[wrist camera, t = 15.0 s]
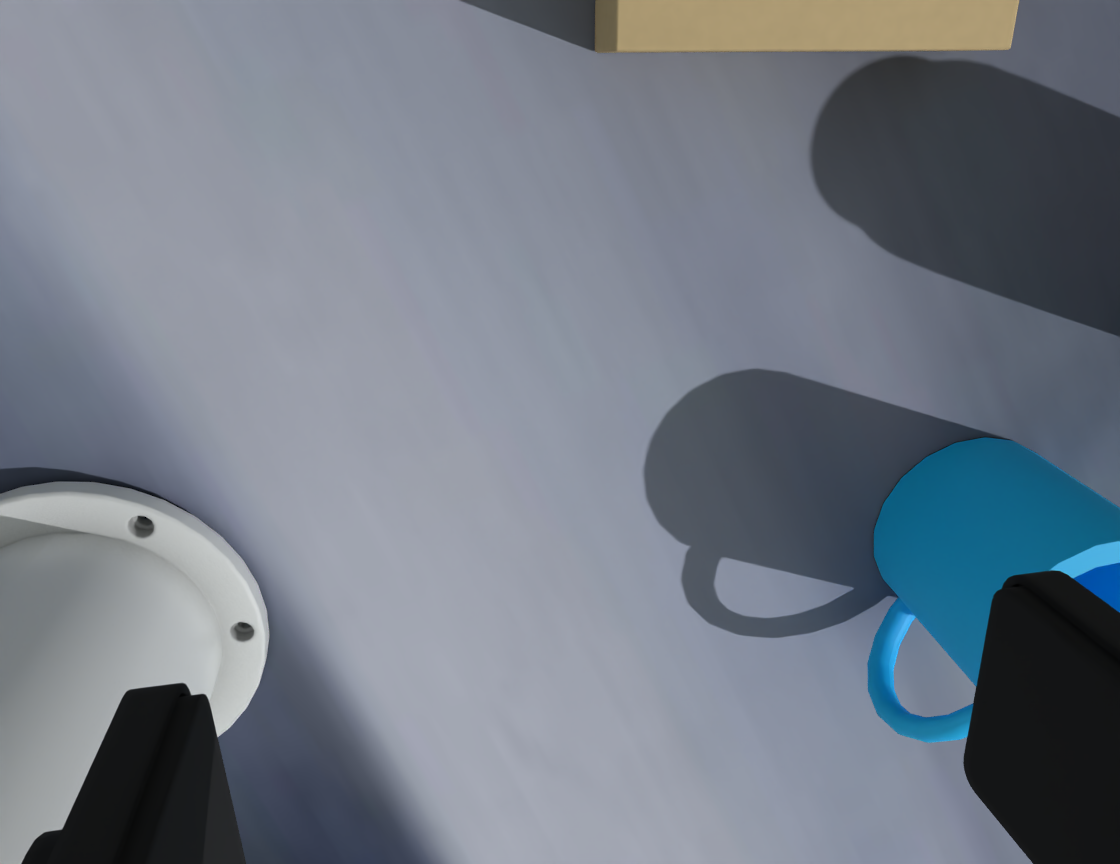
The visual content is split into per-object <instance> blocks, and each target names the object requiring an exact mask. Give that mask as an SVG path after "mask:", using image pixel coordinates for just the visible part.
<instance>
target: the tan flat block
mask: <svg viewBox="0 0 1120 864" xmlns="http://www.w3.org/2000/svg"><path fill="white" fill-rule="evenodd" d="M1018 4H1019V0H595V52H597V53H617V52H823V51H971V50H1008V49H1010V47H1011V42H1012V37H1013V31H1014V26H1015V20H1016V15H1017V10H1018Z"/></svg>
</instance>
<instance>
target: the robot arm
mask: <svg viewBox="0 0 1120 864" xmlns="http://www.w3.org/2000/svg"><path fill="white" fill-rule="evenodd" d="M143 516H145V517H147V518H148V519H150V520H148V519H145V518H144V517H143ZM268 642H269V627H268V617H267V609H266V606H265V603H264V601H263V598H262V595H261V592H260V589H259V586H258V584H257V582H256V580H255V579H254V577H253V575H252V574H251V572H250V571H249V569H248V567H247V566H246V564H245V562H244V561H243V559H242V558H241V557H240V556H239V555H238V554H237V553H236V552H235V550H234V549H233V548H232V547H231V546H230V545H229V544H228V543H227V542H226V541H225V540H224V538H223V537H222V536H220V535H219V534H218V533H217V532H215V531H214V530H213V529H211V528H210V527H209V526H207V525H206V524H205V523H203V522H202V521H201V520H199V519H198V518H197V517H196V516H194V515H192V514H190V513H188V512H186V511H184V510H182V509H180V508H179V507H177V506H175V505H173V504H171V503H169V502H167V501H165V500H163V499H160V498H157V497H154V496H151V495H148V494H145V493H142V492H139V491H136V490H133V489H131V488H125V487H119V486H114V485H108V484H102V483H97V482H62V481H57V482H50V483H43V484H36V485H30V486H23V487H19V488H16V489H13V490H10V491H7V492H4V493H1V494H0V864H246V861H245V857H244V852H243V848H242V843H241V839H240V834H239V830H238V826H237V821H236V817H235V812H234V808H233V804H232V799H231V795H230V790H229V786H228V782H227V777H226V773H225V768H224V764H223V759H222V755H221V751H220V746H219V742H218V736H220V735H221V734H222V733H223V732H225V731H226V730H227V729H229V728H230V727H231V726H232V724H233V723H234V722H235V721H236V720H237V718H238V717H239V716H240V715H241V714H242V713H243V711H244V710H245V709H246V708H247V706H248V704H249V702H250V701H251V699H252V697H253V695H254V693H255V691H256V689H257V687H258V685H259V682H260V679H261V676H262V672H263V669H264V666H265V662H266V657H267V650H268ZM964 770H965V774H966V777H967V780H968V782H969V784H970V786H971V787H972V789H973V790H974V792H975V793H976V794H977V795H978V797H979V798H980V799H981V800H982V802H983V803H984V804H985V805H986V806H987V808H988V809H989V810H990V811H991V813H992V814H993V815H994V816H995V818H996V819H997V820H998V821H999V822H1000V824H1001V825H1002V826H1003V827H1004V829H1005V830H1006V831H1007V832H1008V833H1009V835H1010V836H1011V837H1012V838H1013V840H1014V841H1015V842H1016V843H1017V844H1018V846H1019V847H1020V848H1021V849H1022V851H1023V852H1024V853H1025V854H1026V855H1027V857H1028V858H1029V859H1030V860H1031V862H1032V863H1033V864H1120V612H1118V611H1117V610H1116V609H1114V608H1113V607H1111V606H1110V605H1109V604H1107V603H1106V602H1105V601H1103V600H1102V599H1100V598H1099V597H1098V596H1096V595H1095V594H1094V593H1092V592H1091V591H1089V590H1088V589H1087V588H1085V587H1084V586H1083V585H1081V584H1080V583H1078V582H1077V581H1076V580H1074V579H1073V578H1072V577H1070V576H1069V575H1067V574H1065V573H1063V572H1061V571H1056V570H1050V571H1043V572H1035V573H1027V574H1019V575H1013V576H1011V577H1009V578H1007V580H1006V581H1005V582H1004V583H1003V586H1002V589H1000V590H998V591H996V593H995V594H994V596H993V599H992V602H991V608H990V614H989V619H988V625H987V630H986V636H985V642H984V647H983V653H982V658H981V664H980V669H979V675H978V681H977V686H976V692H975V697H974V703H973V709H972V714H971V720H970V725H969V731H968V736H967V742H966V748H965V753H964Z"/></svg>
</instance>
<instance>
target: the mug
mask: <svg viewBox="0 0 1120 864" xmlns="http://www.w3.org/2000/svg"><path fill="white" fill-rule="evenodd" d="M874 558H875V560H876V563H877V566H878V568H879V571H880V573H881V576H882V578H883V579H884V581H885V582H886V583H887V584H888V585H889V586H890V588H891V589H892V590H893V591H894V592H895V593H896V594H897V596H898V599H897V600H896V601H895V602H894V604H893V605H892V606H891V607H890V609H889V610H888V612H887V614H886V616H885V618H884V620H883V622H882V624H881V625H880V627H879V629H878V631H877V633H876V635H875V638H874V641H873V645H872V649H871V653H870V656H869V660H868V692H869V694H870V697H871V699H872V702H873V704H874V707H875V709H876V712H877V714H878V716H879V717H880V718H882V719H883V720H884V721H885V722H886V723H887V724H888V725H889V726H890V727H891V728H892V729H894V730H895V731H896V732H897V733H898V734H900V735H903V736H906V737H910V738H913V739H917V740H920V741H924V742H929V743H931V742H941V741H951V740H960V739H963V738H965V737H967V736H968V731H969V725H970V720H971V714H972V709H973V704H971V705H969V706H967V707H964V708H962V709H960V710H958V711H955V712H953V713H951V714H949V715H942V716H934V717H922V716H918V715H914V714H910V713H909V712H908V711H907V710H906V709H905V708H903V707H902V706H901V705H900V702H899V700H898V698H897V695H896V693H895V691H894V672H893V669H894V666H895V662H896V658H897V654H898V650H899V646H900V644H901V642H902V640H903V638H904V636H905V634H906V632H907V630H908V629H909V627H910V625H911V623H912V621H913V620H914V619H915V618H917V619H918V620H919V621H920V622H921V623H922V625H923V626H924V627H925V628H926V629H927V630H928V631H929V633H930V634H931V635H932V636H933V637H934V638H935V640H936V641H937V642H938V643H939V644H940V645H941V646H942V648H943V649H944V650H945V651H946V652H947V653H948V655H949V656H950V657H951V658H952V659H953V660H954V661H955V663H956V664H957V665H958V666H959V667H960V668H961V670H962V671H963V672H964V673H965V674H966V675H967V676H968V678H969V679H970V680H971V681H972V682H973V683H974V685H975V686H977V681H978V675H979V669H980V664H981V658H982V653H983V647H984V642H985V636H986V630H987V625H988V619H989V614H990V608H991V602H992V599H993V596H994V594H995V593H996V591H998V590H1000V589H1002V586H1003V583H1004V582H1005V581H1006V580H1007V578H1009V577H1011V576H1013V575H1019V574H1027V573H1035V572H1043V571H1050V570H1056V571H1061V572H1063V573H1065V574H1067V575H1069V576H1070V577H1072V578H1073V579H1074V580H1076V581H1077V582H1078V583H1080V584H1081V585H1083V586H1084V587H1085V588H1087V589H1088V590H1089V591H1091V592H1092V593H1094V594H1095V595H1096V596H1098V597H1099V598H1100V599H1102V600H1103V601H1105V602H1106V603H1107V604H1109V605H1110V606H1111V607H1113V608H1114V609H1116V610H1117V611H1118V612H1120V508H1119V507H1118V506H1116V505H1115V504H1113V503H1112V502H1110V501H1109V500H1107V499H1106V498H1104V497H1102V496H1101V495H1099V494H1098V493H1096V492H1095V491H1093V490H1092V489H1090V488H1089V487H1087V486H1086V485H1084V484H1083V483H1081V482H1080V481H1078V480H1076V479H1075V478H1073V477H1072V476H1070V475H1069V474H1067V473H1066V472H1064V471H1063V470H1061V469H1060V468H1058V467H1057V466H1055V465H1054V464H1052V463H1050V462H1049V461H1047V460H1046V459H1044V458H1043V457H1041V456H1040V455H1038V454H1037V453H1035V452H1033V451H1031V450H1030V449H1028V448H1026V447H1024V446H1022V445H1020V444H1018V443H1016V442H1014V441H1012V440H1004V439H996V438H987V437H983V438H978V439H973V440H968V441H962V442H957V443H954V444H952V445H950V446H948V447H946V448H944V449H942V450H939V451H937V452H935V453H933V454H931V455H929V456H927V457H926V458H924V459H923V460H922V461H921V462H920V463H918V464H917V465H916V466H915V467H914V468H913V469H911V470H910V471H909V472H908V473H907V474H906V475H904V476H903V477H902V478H901V479H900V481H899V482H898V484H897V485H896V486H895V488H894V489H893V491H892V492H891V493H890V495H889V496H888V498H887V499H886V501H885V502H884V503H883V506H882V509H881V512H880V515H879V518H878V521H877V523H876V526H875V529H874Z"/></svg>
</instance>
